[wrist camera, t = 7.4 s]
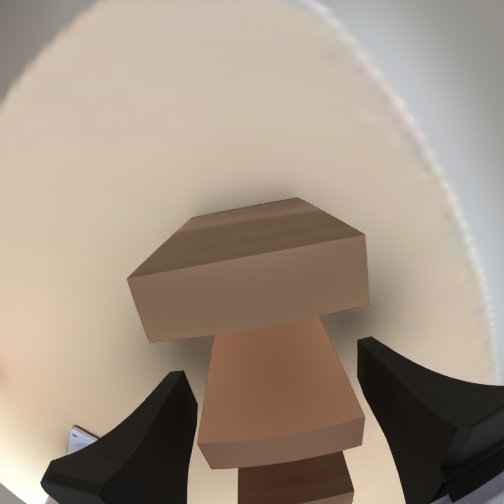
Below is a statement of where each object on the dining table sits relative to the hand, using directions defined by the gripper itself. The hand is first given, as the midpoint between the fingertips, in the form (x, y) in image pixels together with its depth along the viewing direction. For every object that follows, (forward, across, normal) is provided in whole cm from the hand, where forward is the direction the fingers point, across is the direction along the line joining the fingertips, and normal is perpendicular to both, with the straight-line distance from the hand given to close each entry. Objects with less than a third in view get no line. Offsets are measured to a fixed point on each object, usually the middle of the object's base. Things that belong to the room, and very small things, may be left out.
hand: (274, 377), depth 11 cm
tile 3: (+4, 0, +6) cm, 7 cm away
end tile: (+4, 0, -6) cm, 7 cm away
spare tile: (+4, 0, 0) cm, 4 cm away
